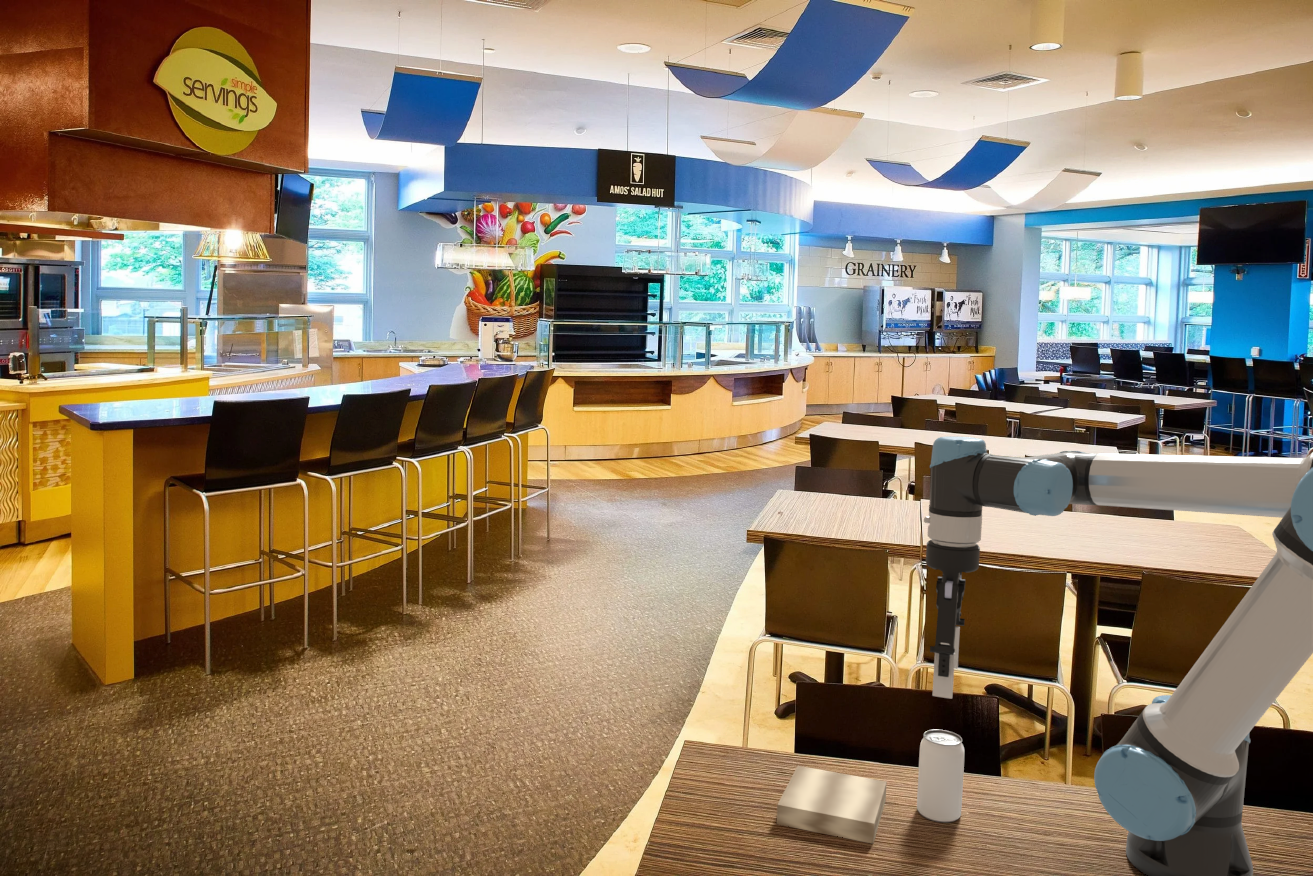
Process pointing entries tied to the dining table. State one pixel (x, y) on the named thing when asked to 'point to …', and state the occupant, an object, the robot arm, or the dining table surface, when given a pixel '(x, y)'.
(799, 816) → the riser
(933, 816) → the can
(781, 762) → the dining table surface
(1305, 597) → the robot arm
